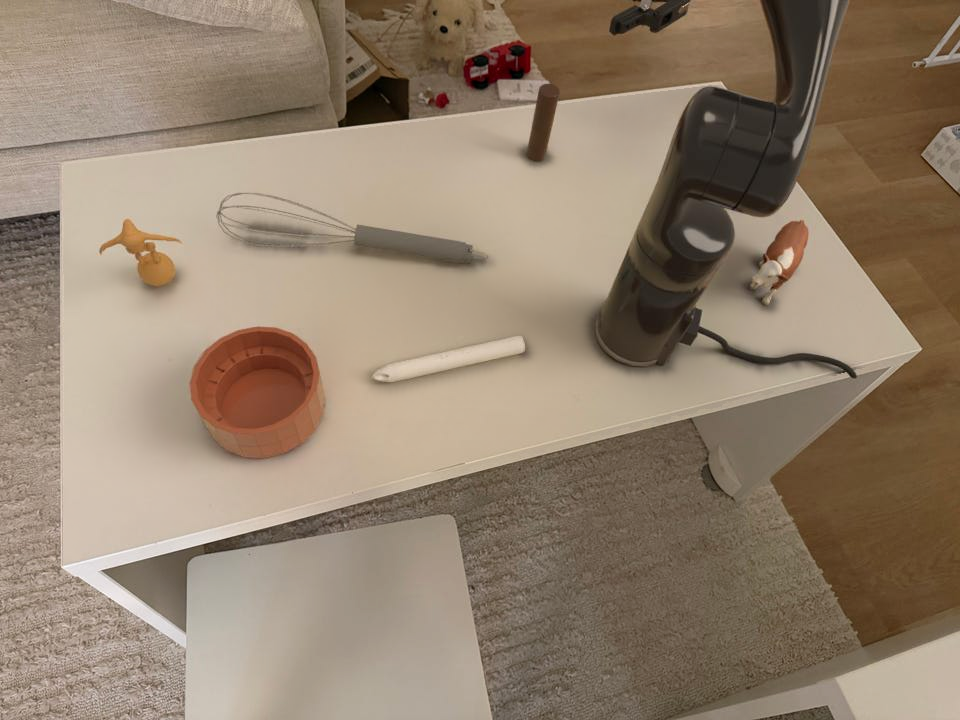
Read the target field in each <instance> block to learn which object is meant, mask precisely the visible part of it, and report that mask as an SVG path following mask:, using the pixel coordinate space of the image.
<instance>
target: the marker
mask: <svg viewBox="0 0 960 720" xmlns="http://www.w3.org/2000/svg"><path fill="white" fill-rule="evenodd" d="M525 350H526V344H525V341H524V338H523V336H522V335H515V336H511V337H510V336H509V337H505V338H501V339H496V340H492V341H488V342H484V343H483V342H482V343H478V344H474V345H469V346H464V347H460V348H455V349H451V350H447V351H443V352H438V353H433V354H427V355H423V356H419V357H415V358H410V359H406V360H401V361H397V362H392V363H388V364H386V365H383V366H382V367H380V368H379V369H377V370H376V371H375V372H374V373H373V375H372V376H371V379H372V380H376V381H379V382H383V383H394V382H399V381H404V380H408V379H413V378H417V377H422V376H426V375H430V374H434V373H440V372H444V371H449V370H453V369H458V368H461V367H466V366H470V365H475V364H479V363H483V362H487V361H493V360H497V359H502V358H505V357H510V356H515V355H520V354H523V353H524V352H525Z"/></svg>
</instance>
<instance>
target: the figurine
mask: <svg viewBox="0 0 960 720" xmlns="http://www.w3.org/2000/svg"><path fill="white" fill-rule="evenodd" d="M146 241H147V242H146ZM153 241H166V242H177V243H179V244H182V245H183V243H182V241H181V240H180V239H178V238H176V237H174V236H166V235H161V234H154V233H153V234H152V233H147V232H144V231H142V230H140V229H138V228H137V227H136V225H135V224H134V223H133V221H132V220H131V219H128V218H126V219H124V220H123V222H122V229H121V232H120V233H119V234H118V235H117V236H115V237H113V238H112V239H109V240H108V241H106V242H104V243H103V244H101V246H100V247H99V249H98V252H99V255H100V256H102V255H103V254H104V252H105V251H106V249H108V248H112V247H113V246H116V245H121V246H123V247H125V250H126V252H127V253H128V254H130V255H134V258H135V260H136V261H137V267H136V269H137V270H136V271H137V274H138V276H139V277H140V279H141V280H142V281H143V282H144V283H145V284H147V285H149V286H153V287H161V286H165V285H167V284H169V283H170V282H171V281H172V280H173V278H174V277H175V275H176V266H175V263H174V261H173V260H172V259H171V257H170V256H169V255H167V254H165V253H164V252H160V251H157V250H156V243H155V242H153ZM144 252H147V253H145V254H143V255H142V253H144Z"/></svg>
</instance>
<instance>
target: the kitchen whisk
mask: <svg viewBox="0 0 960 720" xmlns="http://www.w3.org/2000/svg"><path fill="white" fill-rule="evenodd" d="M240 195H255V196H262V197H267V198H271V199H274V200H278V201H282V202H286V203H289V204H291V205H294V206H297V207H301V208H303V209H305V210H308V211H310V212H313V213H317V214H319V215H321V216H323V217H325V218H327V219H328V218H329V219H330V220H332V221H334V222H337V223H339V224H342V225H344V226H346V227H348V228H350V229H348V228H345V227H343V226H339V225H337V224H332V223H329V222H325V221H323V220H319V219H315V218H312V217H308V216H304V215H300V214H295V213H291V212H288V211H284V210H280V209H279V210H278V209H274V208H268V207H262V206H253V205H229V206H228V205H227V206H223V205H224V204H225V202H227V201H228V200H229V199H231V198H232V197H237V196H240ZM230 208H236V209H244V210H252V211H257V212H258V211H259V212H263V213H269V214H274V215H279V216H283V217H287V218H293V219H297V220H301V221H305V222H309V223H313V224H316V225H322V226H325V227H328V228H333V229H337V230H341V231H344V232H349V233H351V234H354V235H339V234H323V233H311V232H302V231H292V230H283V229H275V228H270V227H264V226H263V227H262V226H257V225H254V224H253V225H252V224H248V223H244V222H241V221H237V220H234V219H232V218H230V217H228V216H226V215H224V214H223V213H222V211H223V210H224V209H230ZM272 211H274V212H272ZM278 212H279V213H278ZM282 213H283V214H282ZM222 216H223V217H224V218H225V219H228V220H229V221H232V222H233V223H234V222H235V223H238V224H241V225H244V226H249V227H254V228H257V229H264V231H263V230H257V229H251V228H245V227H241V226H236V225H233V224H229V223H227V222H224V221H223V218H222ZM215 218H216V219H217V222H218V226H219V227H220V229H221V230H222V232H223V233H224V234H225V235H226V236H229V237H230V238H231V239H233V240H237V241H239V242H243V243H245V244H251V245H256V246H262V247H263V246H264V247H278V248H281V247H282V248H284V247H286V248H287V247H289V248H290V247H291V248H293V247H294V248H295V247H297V248H298V247H313V246H325V245H335V244H342V243H351V242H353V245H354V246H355V247H360V248H367V249H373V250H379V251H385V252H391V253H396V254H404V255H410V256H415V257H421V258H427V259H434V260H439V261H445V262H452V263H459V264H463V263H466V264H471V262H472V259H478V260H484V259H489V255H488V254H487V253H485V252H482V251H478V250H474V244H470V243H469V244H468V243H467V242H466V241H460V240H455V239H447V238H441V237H437V236H436V237H435V236H430V235H424V234H418V233H417V234H416V233H412V232H405V231H401V230H394V229H389V228H381V227H376V226H369V225H363V224H358V223H357V224H356V225H355V227H353V226H351V225H349V224H348V223H345V222H343V221H341V220H339V219H337V218H335V217H333V216H331V215H329V214H326V213H324V212H321V211H319V210H317V209H314V208H312V207H309V206H306V205H304V204H301V203H298V202H296V201H292V200H289V199H286V198H283V197H278V196H275V195H271V194H265V193H260V192H236V193H233V194H228V195H226V197H225V198H223V199H222V200H221V201H220V204H219V208H218V210H217V212H216V216H215ZM220 223H221V224H222V225H221V224H220ZM226 225H227V226H229V227H231V228H232V227H233V228H236V229H240V230H245V231H251V232H258V233H265V234H274V235H285V236H297V237H312V238H313V237H314V238H335V239H336V238H339V239H348V240H341V241H332V242H321V243H300V244H299V243H297V244H291V243H290V244H288V243H287V244H286V243H269V242H262V241H258V240H257V241H256V240H252V239H249V238H245V237H241V236H240V235H238V234H236V233H235V232H232V231H231V230H230V229H229V228H228V227H227V226H226ZM223 227H224V228H225V230H227V232H226V231H225V230H224V229H223ZM266 230H270V231H266ZM273 231H274V232H273ZM275 231H277V232H275ZM228 232H229V233H230V234H229V233H228ZM283 232H284V233H283ZM231 234H232V235H234V236H236V237H238V238H235V237H234V236H232V235H231ZM473 252H475V253H479V254H482V255H485V256H486V257H475V256H473Z"/></svg>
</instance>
